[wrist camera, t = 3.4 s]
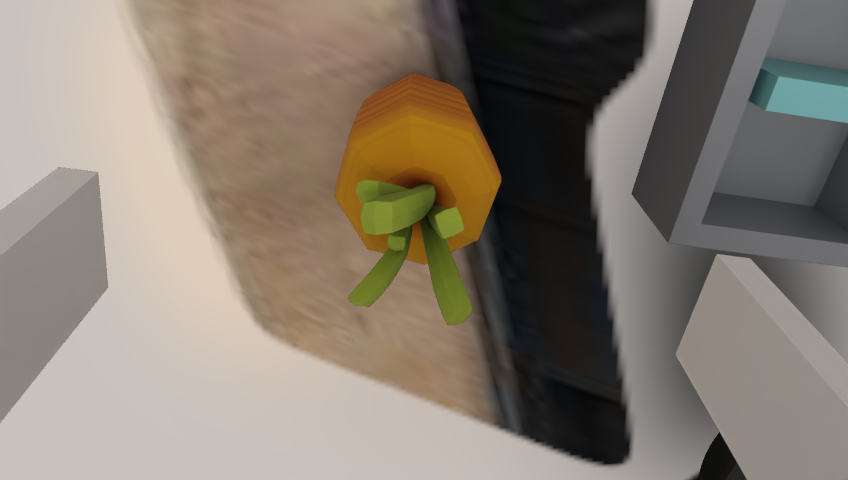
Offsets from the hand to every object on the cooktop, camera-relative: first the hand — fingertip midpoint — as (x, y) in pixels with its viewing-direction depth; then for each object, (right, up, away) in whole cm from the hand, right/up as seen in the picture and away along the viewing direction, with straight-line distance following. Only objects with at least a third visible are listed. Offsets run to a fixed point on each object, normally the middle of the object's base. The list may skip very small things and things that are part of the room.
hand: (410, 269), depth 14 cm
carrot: (0, +7, +14) cm, 16 cm away
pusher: (+15, +7, +13) cm, 21 cm away
